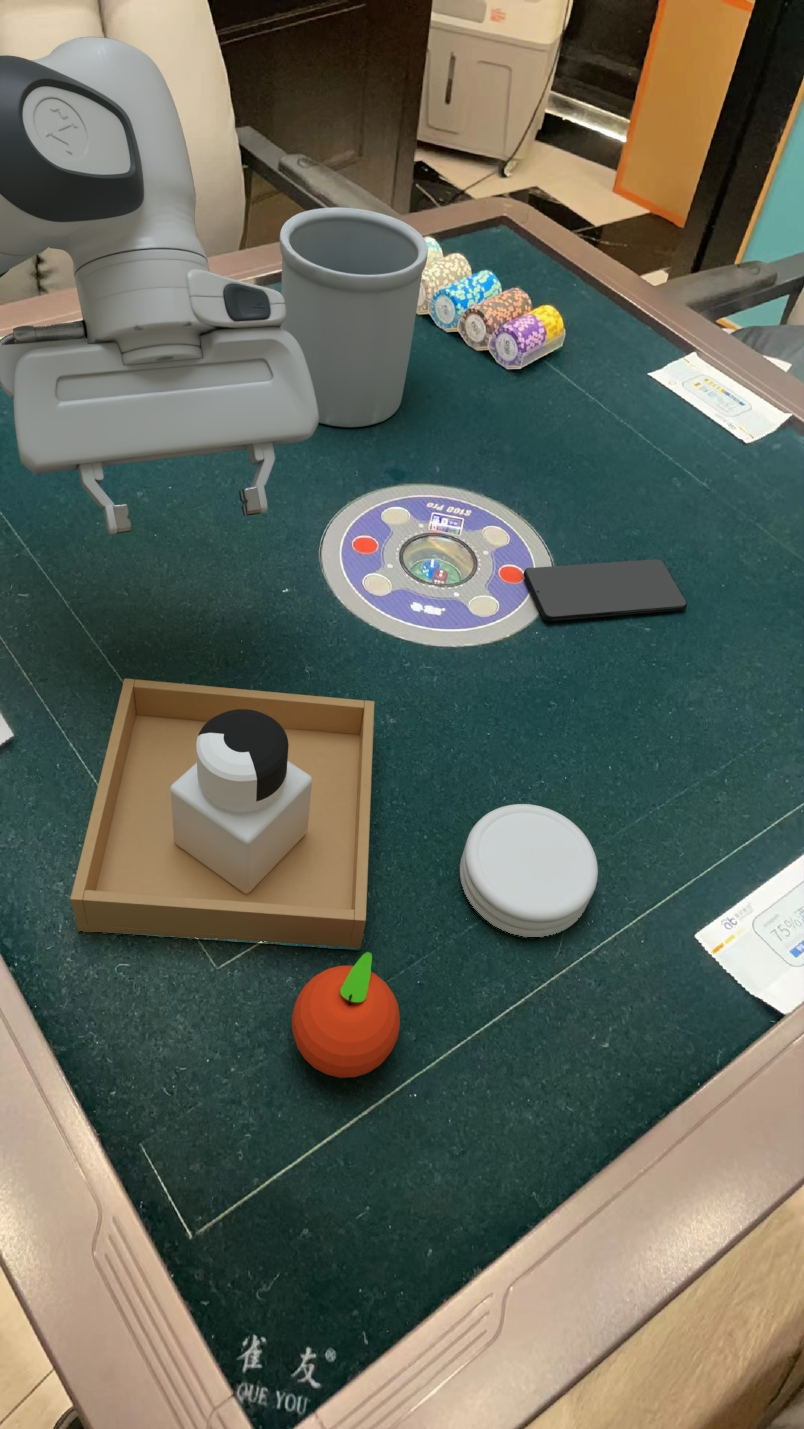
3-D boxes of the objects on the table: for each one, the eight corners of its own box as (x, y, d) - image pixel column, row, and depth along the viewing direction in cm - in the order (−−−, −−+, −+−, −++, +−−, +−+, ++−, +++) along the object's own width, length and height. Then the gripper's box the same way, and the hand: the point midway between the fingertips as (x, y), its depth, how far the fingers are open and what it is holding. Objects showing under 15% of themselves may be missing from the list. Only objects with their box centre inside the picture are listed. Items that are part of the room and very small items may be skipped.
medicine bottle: (236, 782, 81) (236, 679, 72) (308, 832, 79) (319, 732, 70) (171, 843, 77) (164, 741, 68) (246, 897, 75) (249, 800, 66)
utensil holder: (272, 352, 121) (277, 199, 108) (399, 358, 124) (419, 210, 111) (276, 428, 112) (282, 271, 99) (413, 434, 115) (437, 281, 101)
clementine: (315, 966, 73) (322, 916, 68) (410, 999, 72) (425, 951, 67) (273, 1073, 68) (277, 1028, 62) (375, 1109, 67) (387, 1067, 62)
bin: (77, 931, 72) (69, 899, 69) (128, 714, 85) (124, 678, 82) (359, 951, 74) (366, 920, 71) (368, 736, 87) (374, 700, 83)
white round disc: (608, 926, 78) (621, 902, 75) (483, 953, 75) (492, 929, 73) (558, 816, 84) (569, 791, 81) (441, 838, 81) (448, 812, 79)
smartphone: (690, 605, 101) (545, 617, 97) (686, 612, 102) (543, 624, 98) (662, 557, 105) (522, 567, 101) (659, 564, 106) (520, 573, 102)
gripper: (-14, 314, 64) (33, 541, 66) (306, 292, 71) (340, 499, 73) (-12, 341, 70) (31, 548, 72) (283, 318, 77) (316, 508, 78)
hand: (189, 523), depth 72 cm, fingers open, 8 cm apart
